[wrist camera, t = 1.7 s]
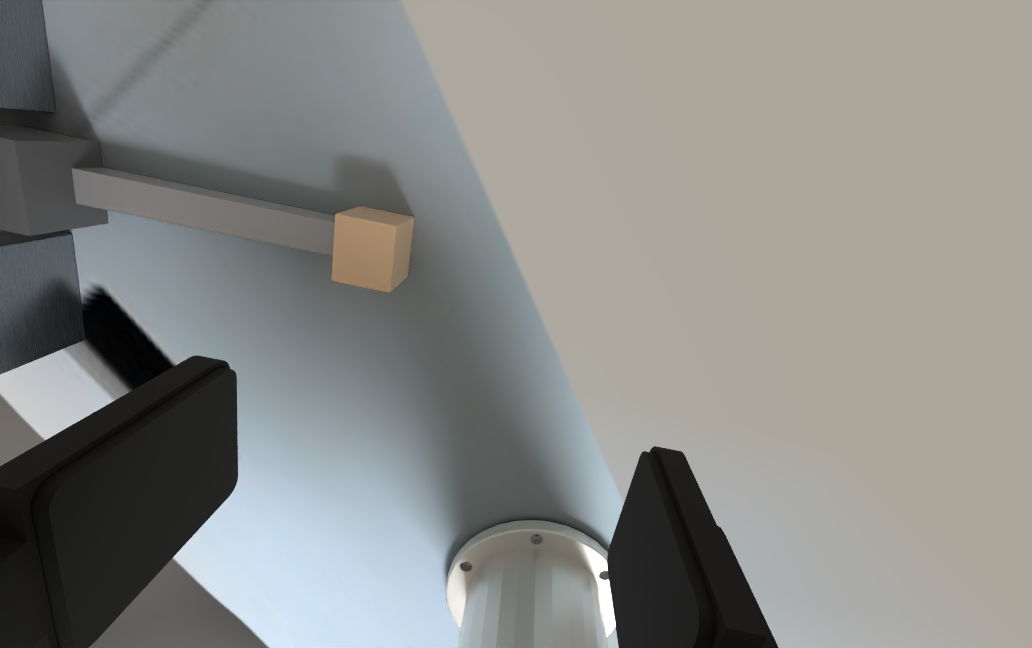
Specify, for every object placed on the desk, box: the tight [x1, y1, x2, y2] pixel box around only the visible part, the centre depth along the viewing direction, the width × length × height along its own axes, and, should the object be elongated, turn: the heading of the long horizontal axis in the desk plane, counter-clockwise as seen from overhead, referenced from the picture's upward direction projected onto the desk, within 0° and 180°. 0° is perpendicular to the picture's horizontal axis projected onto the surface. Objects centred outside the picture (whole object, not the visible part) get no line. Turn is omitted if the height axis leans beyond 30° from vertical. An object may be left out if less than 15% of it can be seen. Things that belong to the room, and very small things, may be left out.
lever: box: [0, 125, 415, 293], centre depth 24 cm, size 22×4×4 cm, turn 79°
